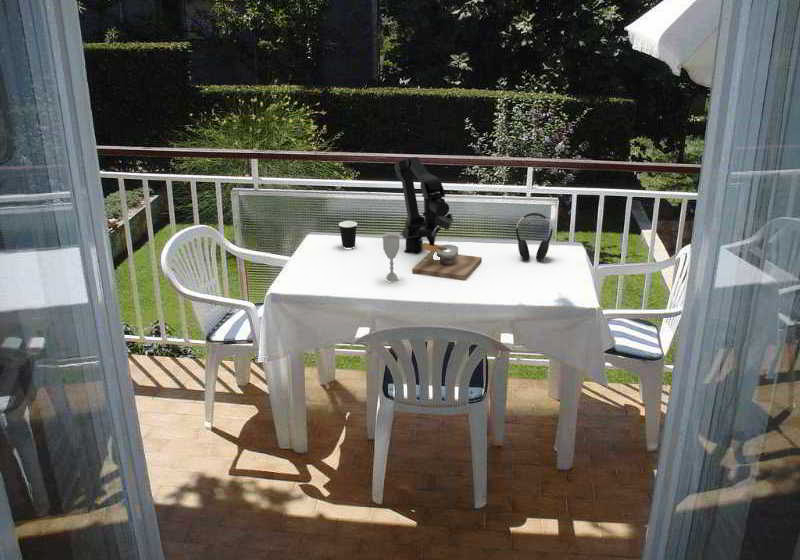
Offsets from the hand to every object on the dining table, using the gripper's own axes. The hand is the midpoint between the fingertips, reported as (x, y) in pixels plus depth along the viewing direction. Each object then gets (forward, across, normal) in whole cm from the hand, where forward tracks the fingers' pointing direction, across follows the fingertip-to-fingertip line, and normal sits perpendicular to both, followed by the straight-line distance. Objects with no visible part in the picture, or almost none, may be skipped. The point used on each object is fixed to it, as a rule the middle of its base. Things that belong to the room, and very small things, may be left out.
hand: (432, 246), depth 315 cm
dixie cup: (+7, +5, +40) cm, 41 cm away
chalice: (+6, -23, +9) cm, 26 cm away
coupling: (+2, -3, -4) cm, 5 cm away
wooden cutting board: (+7, -3, -8) cm, 11 cm away
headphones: (+9, +17, -38) cm, 42 cm away
